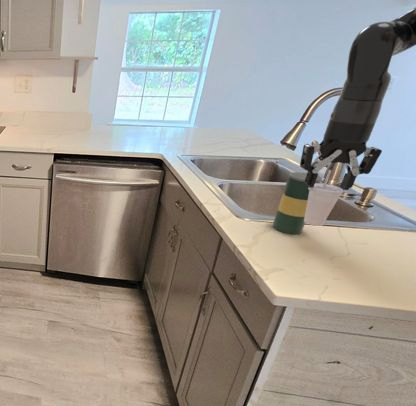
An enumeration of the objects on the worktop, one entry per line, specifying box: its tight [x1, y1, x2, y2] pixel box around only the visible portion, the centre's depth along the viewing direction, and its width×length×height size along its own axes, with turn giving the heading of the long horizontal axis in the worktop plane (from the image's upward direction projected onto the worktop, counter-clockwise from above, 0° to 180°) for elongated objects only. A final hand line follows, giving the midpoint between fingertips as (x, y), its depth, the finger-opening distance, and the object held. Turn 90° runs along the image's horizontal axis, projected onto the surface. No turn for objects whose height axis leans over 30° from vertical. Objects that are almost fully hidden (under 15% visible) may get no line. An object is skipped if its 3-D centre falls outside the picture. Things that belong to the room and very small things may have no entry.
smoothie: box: [304, 169, 345, 227], centre depth 90 cm, size 6×6×14 cm
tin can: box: [272, 171, 322, 235], centre depth 102 cm, size 7×7×16 cm
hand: (326, 187), depth 89 cm, fingers closed on smoothie, 6 cm apart
